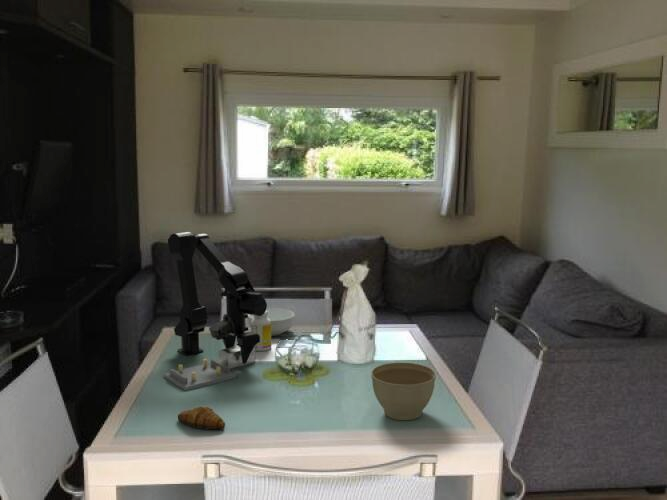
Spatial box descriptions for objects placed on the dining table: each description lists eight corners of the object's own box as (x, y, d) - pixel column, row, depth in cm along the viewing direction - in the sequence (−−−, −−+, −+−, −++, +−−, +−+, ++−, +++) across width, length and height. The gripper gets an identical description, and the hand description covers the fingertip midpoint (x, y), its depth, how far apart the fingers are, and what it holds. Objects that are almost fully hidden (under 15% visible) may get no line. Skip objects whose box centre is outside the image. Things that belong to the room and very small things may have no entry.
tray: (164, 376, 192) (163, 365, 192) (212, 365, 202) (212, 354, 202) (185, 390, 182) (185, 378, 181) (235, 377, 192) (235, 366, 191)
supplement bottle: (273, 345, 222) (272, 309, 220) (269, 352, 216) (268, 314, 214) (253, 345, 223) (253, 308, 221) (249, 351, 216) (248, 313, 214)
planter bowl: (370, 401, 174) (370, 361, 173) (430, 401, 174) (431, 362, 172) (371, 426, 158) (372, 383, 157) (438, 427, 158) (439, 384, 156)
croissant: (232, 425, 160) (231, 405, 159) (216, 436, 154) (215, 416, 153) (187, 415, 166) (187, 396, 165) (170, 426, 159) (169, 406, 159)
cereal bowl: (242, 338, 231) (241, 318, 230) (255, 325, 247) (255, 307, 246) (288, 340, 228) (288, 321, 227) (299, 327, 244) (299, 309, 243)
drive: (219, 365, 203) (218, 350, 202) (245, 358, 210) (245, 343, 209) (228, 369, 199) (227, 353, 198) (255, 362, 206) (254, 347, 205)
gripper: (198, 309, 204) (199, 357, 206) (228, 322, 190) (229, 373, 192) (229, 304, 211) (230, 350, 213) (260, 315, 196) (261, 365, 199)
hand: (237, 359), depth 204 cm, fingers open, 8 cm apart
